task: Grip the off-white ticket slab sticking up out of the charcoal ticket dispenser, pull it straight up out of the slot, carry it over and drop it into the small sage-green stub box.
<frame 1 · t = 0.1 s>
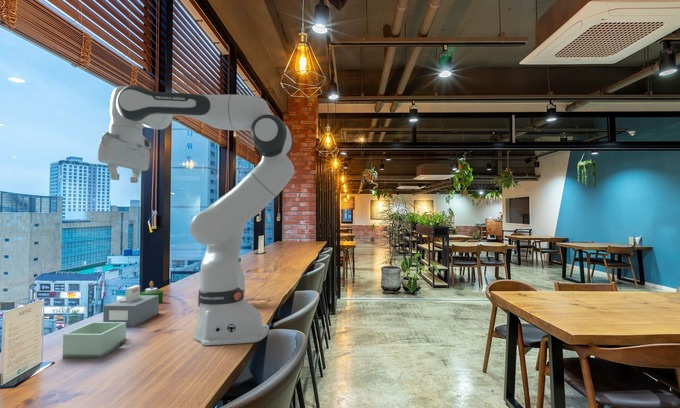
hand: (125, 181, 107), 48 cm above the bar counter, fingers open, 8 cm apart
candle: (151, 306, 137), on the bar counter
milk bottle: (234, 308, 135), on the bar counter
ticket: (132, 319, 114), point 1 cm above the bar counter, touching dispenser
stub box: (95, 350, 92), on the bar counter
dispenser: (132, 323, 114), on the bar counter
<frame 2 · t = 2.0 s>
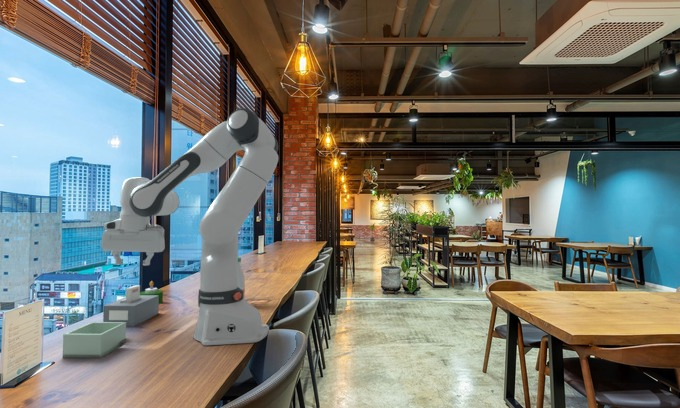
hand: (132, 264, 115), 20 cm above the bar counter, fingers open, 8 cm apart
nothing on the bar counter moved.
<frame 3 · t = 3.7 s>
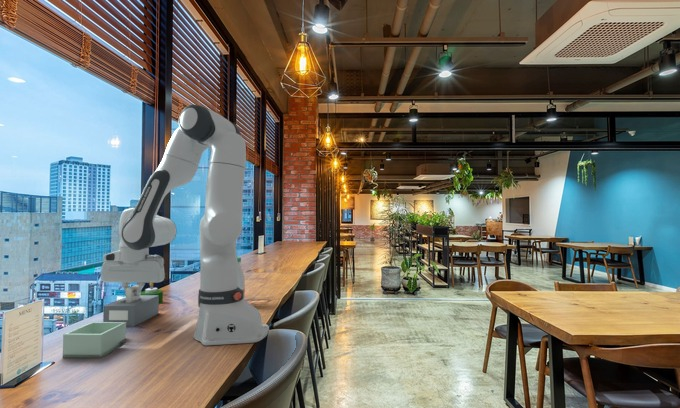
hand: (133, 295, 115), 10 cm above the bar counter, fingers closed on ticket, 2 cm apart
ticket: (132, 319, 114), point 2 cm above the bar counter, touching dispenser, gripper
everything else where it was.
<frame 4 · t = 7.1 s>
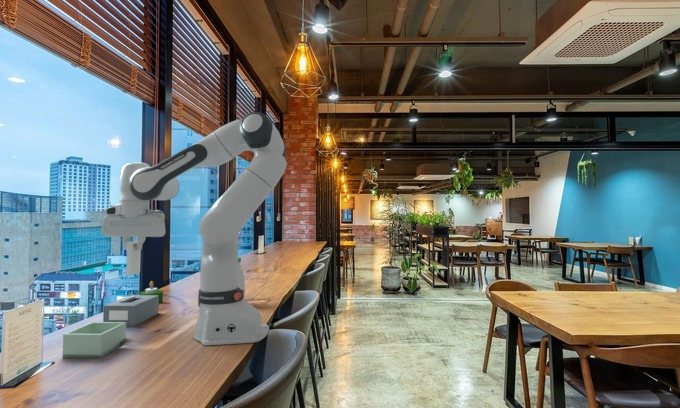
hand: (133, 250, 115), 25 cm above the bar counter, fingers closed on ticket
ticket: (133, 273, 115), point 17 cm above the bar counter, touching gripper
everything else where it was.
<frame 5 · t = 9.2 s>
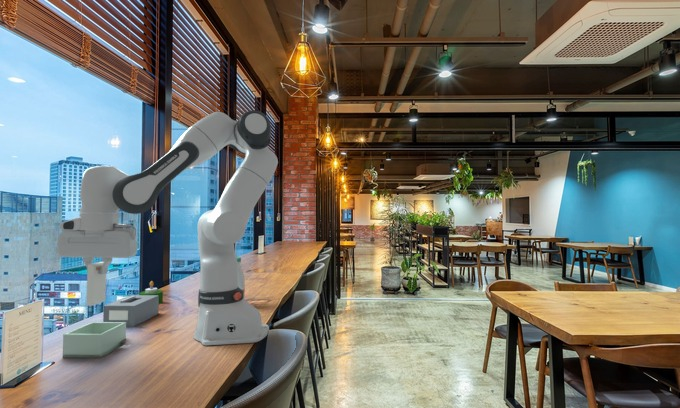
hand: (97, 273, 93), 21 cm above the bar counter, fingers closed on ticket
ticket: (96, 303, 92), point 13 cm above the bar counter, touching gripper
everything else where it was.
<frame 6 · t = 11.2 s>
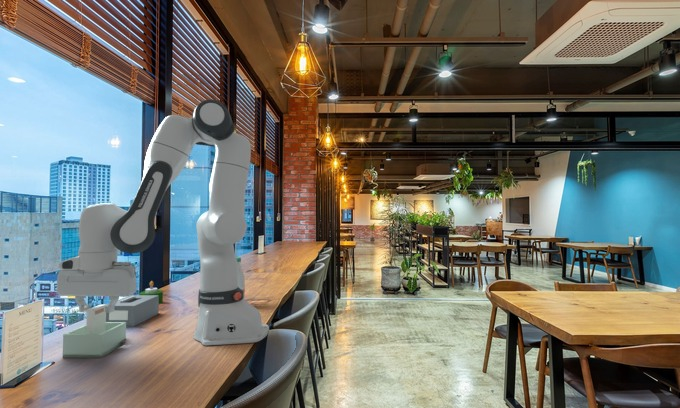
hand: (96, 311, 93), 10 cm above the bar counter, fingers open, 6 cm apart
ticket: (95, 347, 92), point 1 cm above the bar counter, touching stub box
everything else where it was.
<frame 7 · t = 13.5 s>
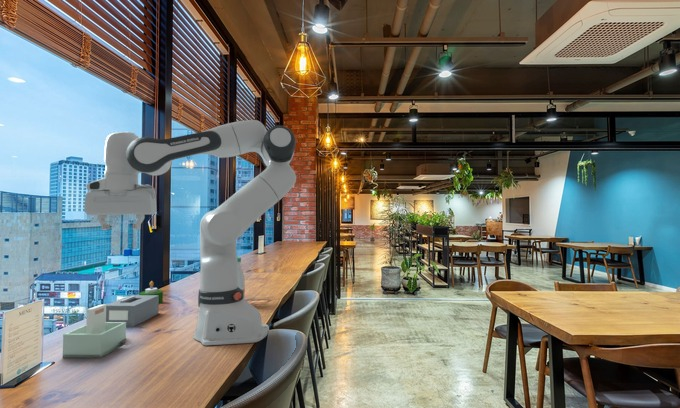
hand: (121, 229, 103), 33 cm above the bar counter, fingers open, 8 cm apart
nothing on the bar counter moved.
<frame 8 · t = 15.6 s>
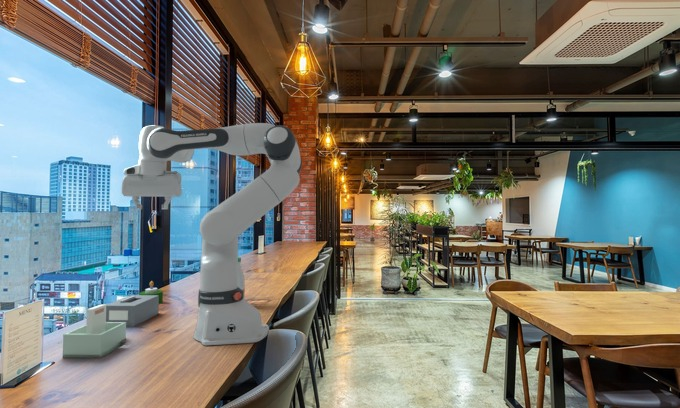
hand: (151, 209, 120), 39 cm above the bar counter, fingers open, 8 cm apart
nothing on the bar counter moved.
at the end: ticket inside the target area on the stub box (0.1 cm from its centre), point 0.8 cm above the stub box's base; the gripper is holding nothing; ticket touching stub box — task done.
